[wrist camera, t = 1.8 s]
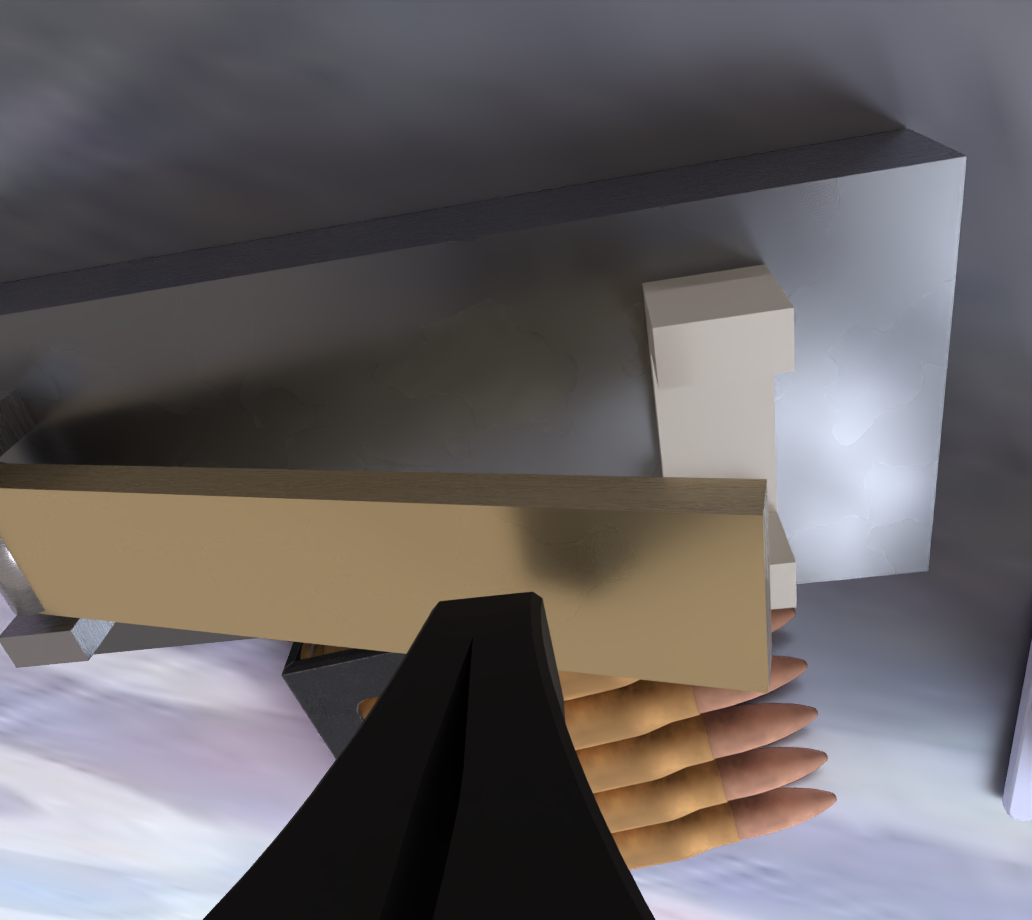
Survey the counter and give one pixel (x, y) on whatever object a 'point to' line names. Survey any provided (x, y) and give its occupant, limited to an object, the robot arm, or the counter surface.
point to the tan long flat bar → (404, 558)
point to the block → (514, 348)
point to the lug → (723, 385)
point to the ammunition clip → (629, 747)
